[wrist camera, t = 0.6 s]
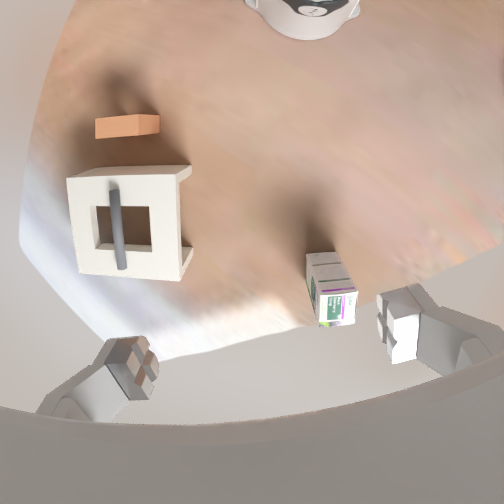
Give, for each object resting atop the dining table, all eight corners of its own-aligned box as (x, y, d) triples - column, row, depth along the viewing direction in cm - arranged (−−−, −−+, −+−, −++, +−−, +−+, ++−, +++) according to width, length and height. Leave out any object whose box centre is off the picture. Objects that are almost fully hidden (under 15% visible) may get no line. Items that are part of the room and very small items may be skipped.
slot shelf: (96, 167, 50) (60, 180, 39) (191, 165, 50) (172, 176, 39) (104, 250, 56) (75, 277, 45) (193, 255, 56) (177, 286, 45)
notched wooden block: (121, 118, 47) (95, 118, 38) (159, 115, 46) (138, 114, 38) (122, 135, 48) (95, 138, 39) (159, 132, 48) (138, 135, 39)
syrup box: (304, 252, 55) (317, 294, 42) (337, 250, 55) (359, 291, 41) (305, 281, 57) (316, 328, 44) (336, 279, 57) (356, 324, 43)
